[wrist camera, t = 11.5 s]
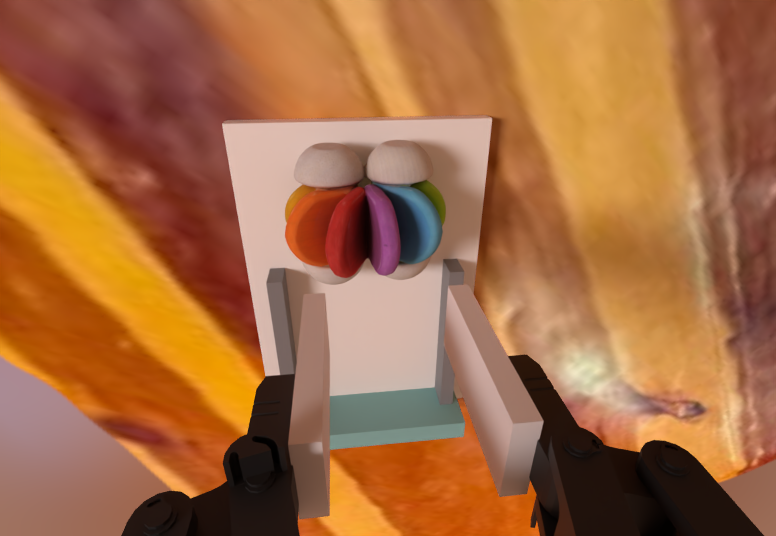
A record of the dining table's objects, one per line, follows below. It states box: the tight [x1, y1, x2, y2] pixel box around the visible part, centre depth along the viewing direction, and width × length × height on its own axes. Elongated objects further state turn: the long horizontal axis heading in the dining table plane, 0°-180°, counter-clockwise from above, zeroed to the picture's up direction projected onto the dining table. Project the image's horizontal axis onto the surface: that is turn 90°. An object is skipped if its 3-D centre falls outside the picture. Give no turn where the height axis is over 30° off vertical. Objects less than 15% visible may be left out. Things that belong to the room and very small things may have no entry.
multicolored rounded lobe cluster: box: [285, 140, 446, 285], centre depth 25 cm, size 8×10×7 cm
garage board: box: [222, 115, 492, 450], centre depth 30 cm, size 23×16×5 cm
